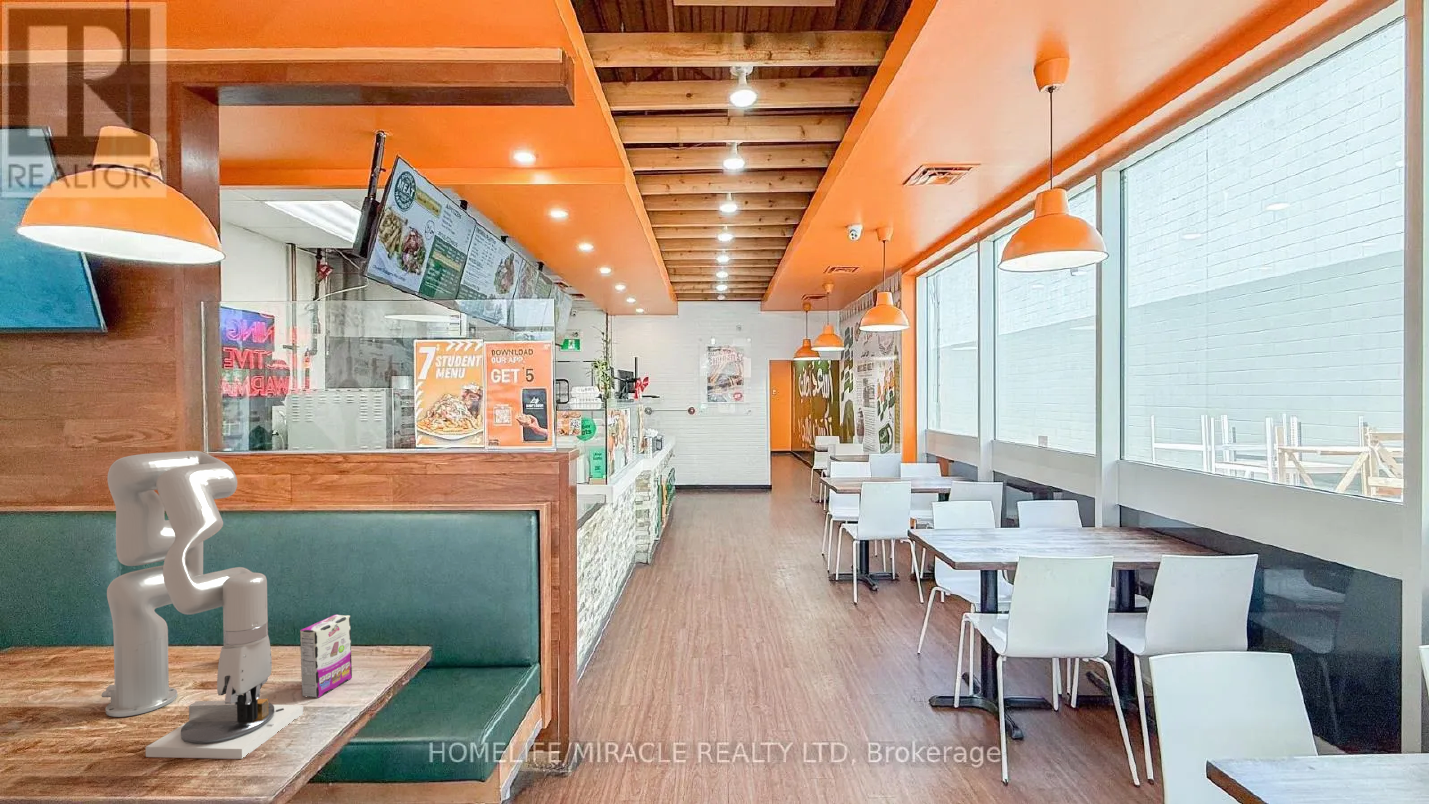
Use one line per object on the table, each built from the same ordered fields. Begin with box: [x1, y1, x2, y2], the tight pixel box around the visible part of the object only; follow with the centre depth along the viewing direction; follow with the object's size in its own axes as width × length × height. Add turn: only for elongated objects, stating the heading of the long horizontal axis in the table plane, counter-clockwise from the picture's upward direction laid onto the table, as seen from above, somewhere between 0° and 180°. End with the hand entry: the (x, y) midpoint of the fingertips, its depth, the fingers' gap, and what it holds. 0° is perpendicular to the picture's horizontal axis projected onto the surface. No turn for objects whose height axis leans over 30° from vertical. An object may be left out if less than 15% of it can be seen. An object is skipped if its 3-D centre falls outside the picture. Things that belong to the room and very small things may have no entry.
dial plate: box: [145, 704, 304, 760], centre depth 138 cm, size 20×18×2 cm
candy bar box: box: [299, 614, 353, 699], centre depth 159 cm, size 11×5×16 cm, turn 168°
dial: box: [181, 698, 274, 744], centre depth 138 cm, size 16×16×5 cm
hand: (247, 720), depth 135 cm, fingers closed
